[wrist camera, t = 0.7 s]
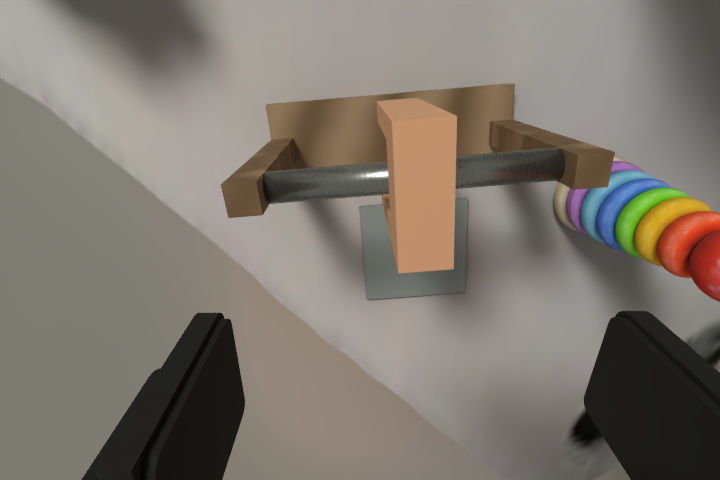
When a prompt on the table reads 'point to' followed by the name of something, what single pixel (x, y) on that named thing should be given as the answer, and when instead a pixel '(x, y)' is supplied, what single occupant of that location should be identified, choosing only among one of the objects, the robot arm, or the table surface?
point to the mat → (383, 264)
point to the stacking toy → (648, 223)
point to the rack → (369, 150)
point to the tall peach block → (420, 183)
